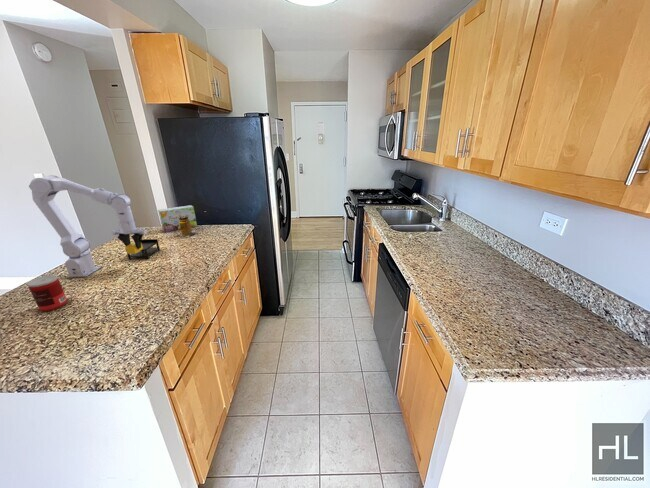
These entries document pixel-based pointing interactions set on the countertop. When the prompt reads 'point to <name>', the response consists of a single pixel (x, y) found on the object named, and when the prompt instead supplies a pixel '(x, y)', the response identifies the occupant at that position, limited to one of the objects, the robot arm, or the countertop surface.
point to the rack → (146, 248)
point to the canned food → (47, 292)
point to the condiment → (185, 226)
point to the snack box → (176, 217)
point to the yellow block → (133, 248)
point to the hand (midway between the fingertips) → (134, 248)
